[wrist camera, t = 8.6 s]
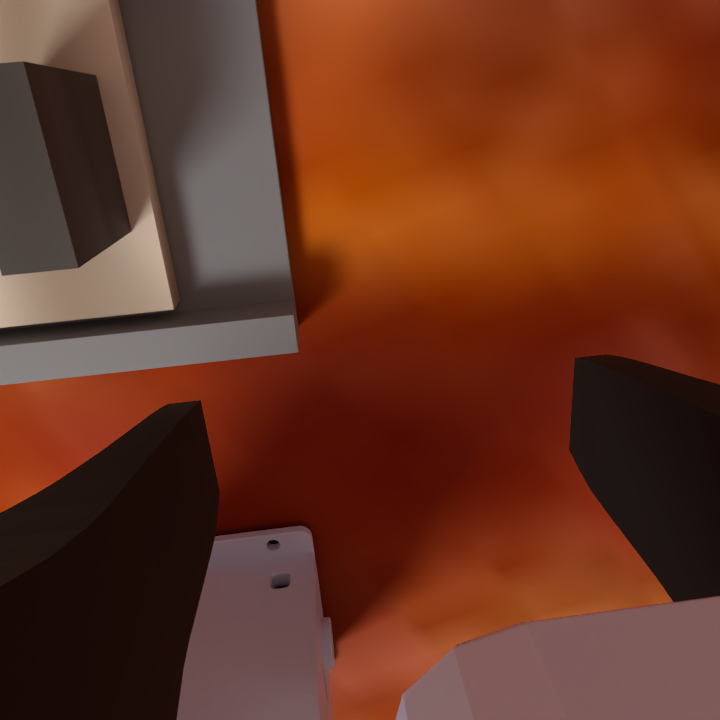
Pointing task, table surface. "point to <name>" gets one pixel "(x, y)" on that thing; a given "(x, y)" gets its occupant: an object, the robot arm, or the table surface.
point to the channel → (192, 206)
